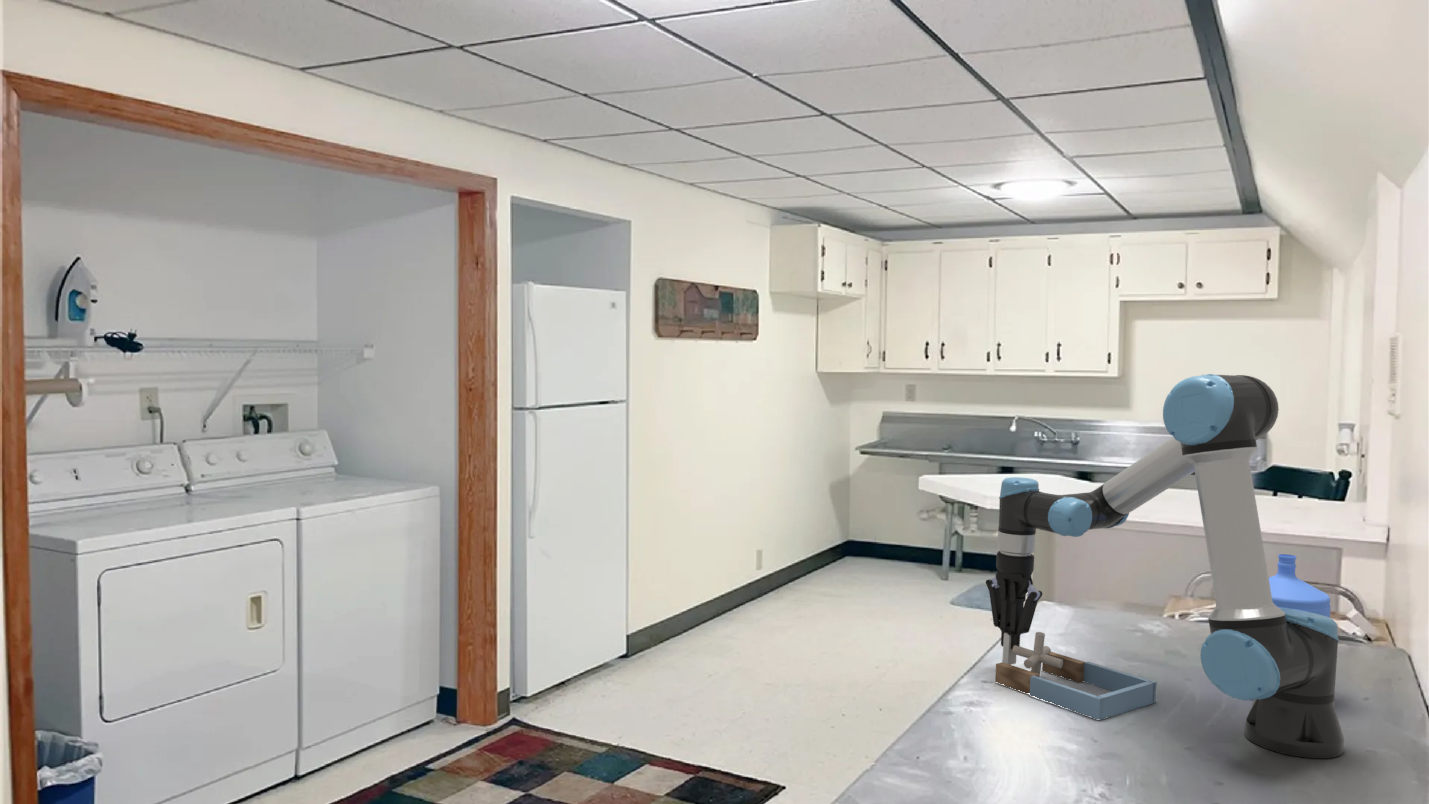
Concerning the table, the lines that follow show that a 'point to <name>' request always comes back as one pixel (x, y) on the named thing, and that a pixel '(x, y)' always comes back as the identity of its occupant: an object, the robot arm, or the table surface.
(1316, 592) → the water jug
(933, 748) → the table surface
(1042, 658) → the pipe connector
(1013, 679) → the slot rails
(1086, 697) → the bin
